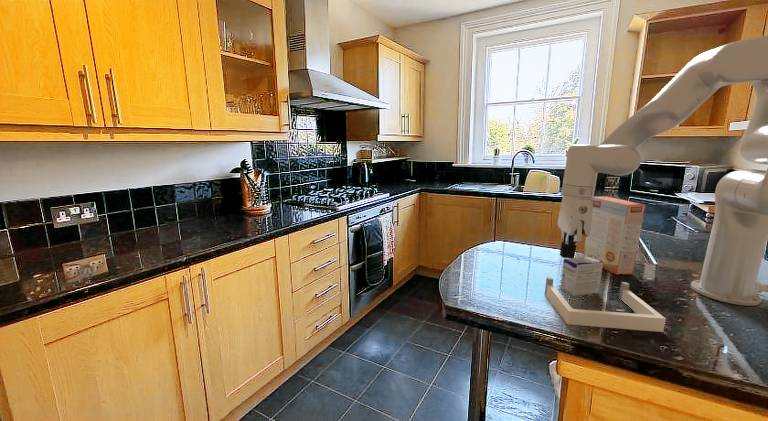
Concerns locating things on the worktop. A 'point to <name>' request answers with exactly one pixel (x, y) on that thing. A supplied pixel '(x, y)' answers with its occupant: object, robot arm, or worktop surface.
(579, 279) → the box
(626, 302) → the dock
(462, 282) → the worktop surface
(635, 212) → the cracker box
